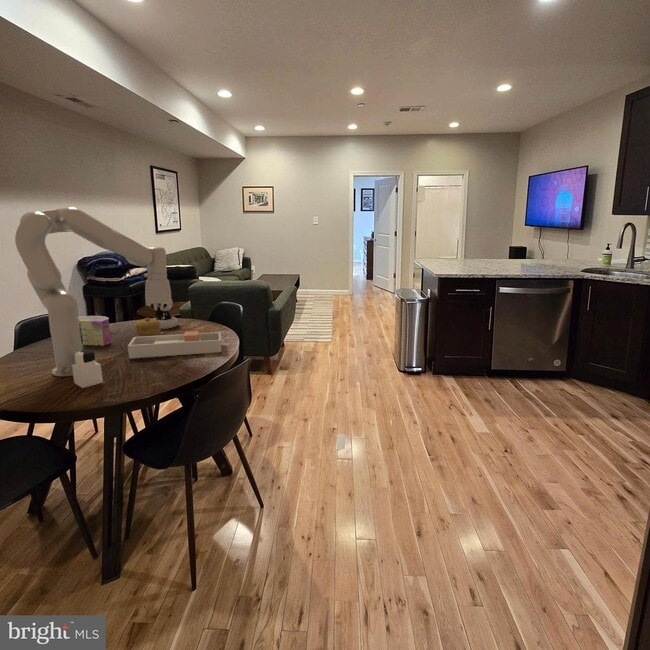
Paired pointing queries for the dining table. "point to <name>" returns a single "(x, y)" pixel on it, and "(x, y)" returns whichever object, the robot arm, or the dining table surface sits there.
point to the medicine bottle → (86, 369)
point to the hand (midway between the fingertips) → (159, 318)
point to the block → (191, 336)
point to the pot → (148, 327)
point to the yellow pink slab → (91, 318)
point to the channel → (173, 345)
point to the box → (95, 331)
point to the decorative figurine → (167, 318)
